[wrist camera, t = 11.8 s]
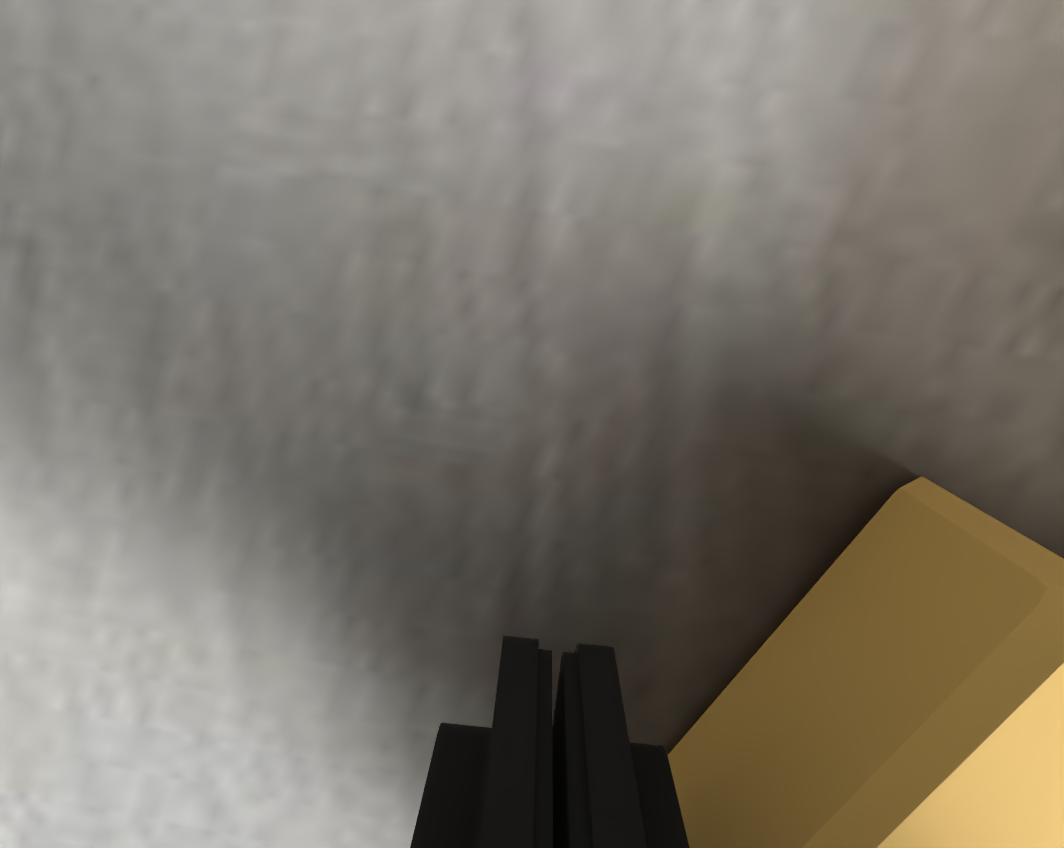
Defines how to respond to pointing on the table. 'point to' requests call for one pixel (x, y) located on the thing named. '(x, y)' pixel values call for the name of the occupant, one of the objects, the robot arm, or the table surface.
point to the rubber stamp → (896, 698)
